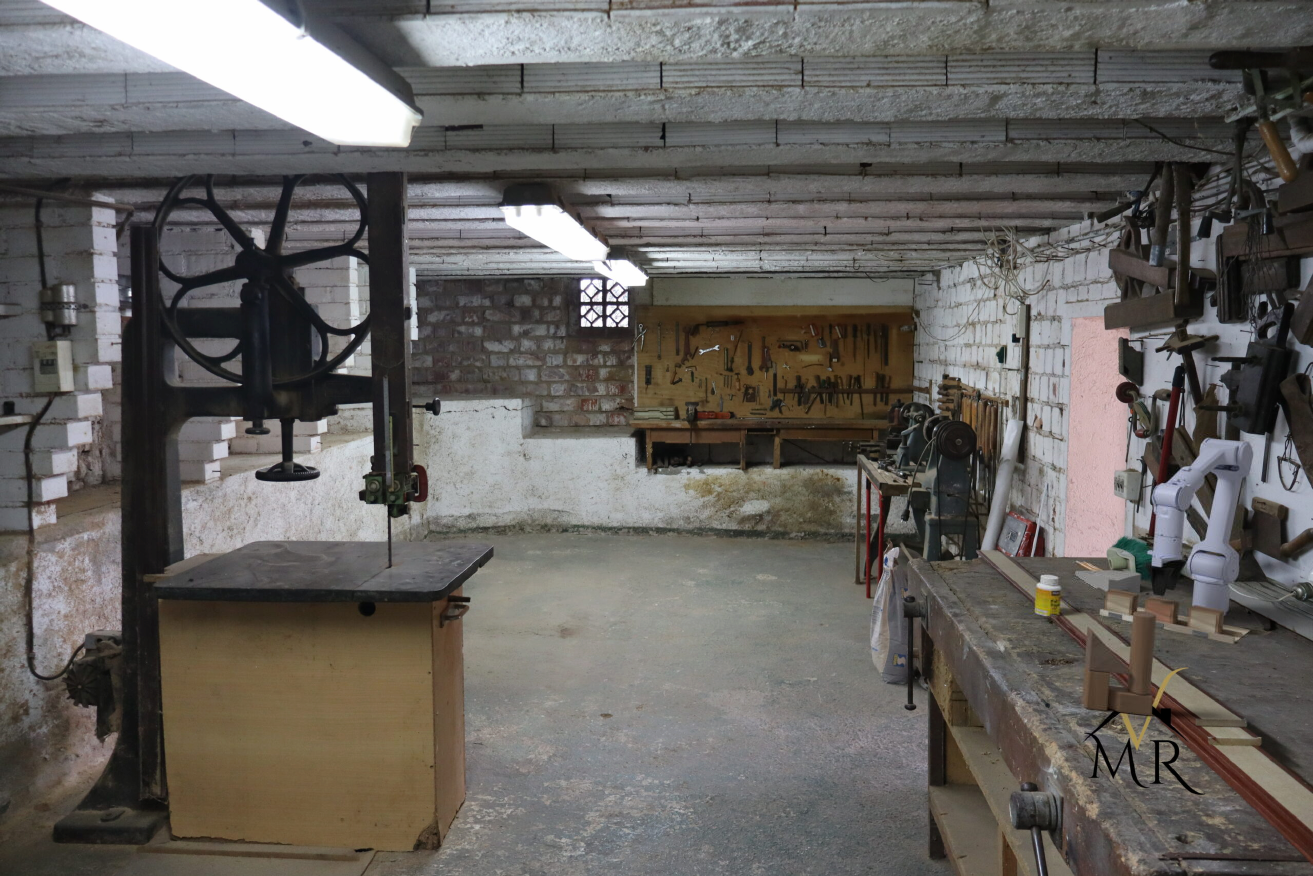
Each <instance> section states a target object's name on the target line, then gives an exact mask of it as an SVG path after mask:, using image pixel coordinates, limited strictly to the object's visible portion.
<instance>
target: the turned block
mask: <svg viewBox="0 0 1313 876" xmlns="http://www.w3.org/2000/svg"><path fill="white" fill-rule="evenodd" d="M1144 608H1145V612H1150V613H1153V614H1155V615H1156V621H1161V622H1165V623H1170V624H1175V625H1177V623H1178V615H1179V609H1180V601H1176V600H1172V599H1171V600H1170V599H1166V598H1160V597H1156V596H1150V597H1148V598H1145V604H1144Z"/></svg>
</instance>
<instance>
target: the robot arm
mask: <svg viewBox="0 0 1313 876" xmlns="http://www.w3.org/2000/svg"><path fill="white" fill-rule="evenodd" d="M1253 459H1254V451H1253V447H1252V445H1251V443H1249V441H1247V440H1246V441H1245V440H1243V441H1242V440H1241V441H1240V440H1229V439H1218V438H1212V437H1206V438H1205V439H1204V440H1203V441H1202V442H1201V444H1200V447H1199V455H1198V456H1197V457H1196V459H1195V460H1194V461H1193V463H1191V465H1189V466H1183V467H1181V468H1180V469H1179V470H1178V471H1177V472H1176V473H1175V474H1174V475H1173V476H1172V477H1170V479H1169V480H1168V481H1167V482H1165V483H1163V482H1161V483H1160V484H1157V485H1156V486H1155V487H1154V489H1153V491H1152V495H1151V502H1152V505H1153V513H1154V515H1155V521H1154V522H1155V523H1154V537H1153V548H1152V549H1153V550H1152V549H1150V550H1147V555H1151V556H1152V558H1151V562H1146V563H1145V568H1146V570H1147V573H1148V574H1149V578H1150V583H1151V588H1152V589H1151V590H1152V594H1153V595H1154V596H1160V597H1164V596H1165V594H1166V591H1167V590H1170V591H1175V589H1176V587H1177V584H1178V581H1179V577H1180V576H1181V573H1182V571H1183V569H1184V567H1185V566H1186V567H1187V568H1186V569H1187V571H1188V574H1189V575H1191V579H1192V580H1194V583H1193V593H1192V604H1191V607H1192V606H1194V605H1197V606H1202V607H1207V608H1212V609H1218V610H1223V611H1224V616H1226V615H1227V612H1228V611H1229V609H1230V608H1229V607H1230V606H1229V605H1230V596H1231V595H1230V594H1231V590H1230V584H1232V583H1234V581H1236V580H1237V578H1238V576H1239V573H1240V565H1239V562H1240V554H1239V553H1238V552H1237V551H1236V550H1235V549H1234V548H1233V547H1232V546H1231V545H1230V539H1231V534H1232V529H1233V524H1234V519H1235V515H1236V511H1237V510H1236V509H1237V505H1238V500H1239V494H1240V491H1241V485H1242V482H1243V479H1244V478H1246V477H1249V475H1250V472H1251V469H1252V464H1253ZM1210 472H1211V473H1212V474H1214V475H1215V476H1216V477H1217V482H1216V486H1215V491H1214V496H1213V501H1212V506H1211V511H1210V514H1209V519H1208V525H1207V529H1206V530H1207V531H1206V532H1205V533H1206V534H1205V539H1204V540H1202V541H1199V542H1197V543H1196V544H1194V545H1193V547H1192V549H1191V553H1190V554H1189V556H1188V557H1187V560H1185V559H1183V554H1182V549H1183V548H1182V547H1183V537H1184V526H1185V525H1184V523H1185V515H1186V514H1185V512H1186V510H1188V509H1189V508H1190V506H1191V503H1192V500H1193V498H1194V494H1195V493H1196V492H1197V491H1198V490H1199V489H1200V488H1201V487H1202V486H1203V485H1204V483H1205V476H1206V475H1208V473H1210ZM1212 553H1213V554H1212ZM1217 554H1218V555H1217Z"/></svg>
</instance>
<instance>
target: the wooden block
mask: <svg viewBox="0 0 1313 876" xmlns="http://www.w3.org/2000/svg"><path fill="white" fill-rule="evenodd" d="M1155 626H1156V615H1155V614H1153V613H1150V612H1145V611H1136V612H1134V613H1133V622H1132V625H1131V638H1130V649H1129V650H1130V652H1129V664H1128V667H1127V666H1126V665H1125V664H1124V663H1123V661H1121V659H1119V658H1118V656H1117V655H1116V654H1115V653H1114V652H1113V651H1112V650H1111V649H1110V648H1109V647H1108V646H1107V645H1106V644H1105V643H1104V641H1103V640H1102V639H1101V638H1100V637H1099V636H1098V635H1097V634H1096V633H1095V632H1094V631H1093V629H1091V628H1090V627H1089V626H1087V627H1086V628H1087V631H1086V641H1085V642H1086V643H1085V653H1084V655H1085V657H1084V670H1083V681H1082V682H1083V686H1082V697H1081V702H1082V704H1083V705H1084V707H1085V709H1087V710H1088V709H1089V710H1095V711H1096V710H1097V711H1105V712H1106V711H1107V710H1108V709H1110V710H1112V711H1116V712H1118V713H1124V714H1135V715H1141V716H1142V715H1143V716H1152V713H1153V701H1154V700H1153V699H1154V697H1153V695H1152V694H1151V685H1152V674H1153V673H1152V672H1153V661H1154V649H1155V635H1156V627H1155ZM1111 673H1114V674H1124V675H1128V676H1127V687H1124V686H1123V687H1122V686H1115V685H1114V686H1113V685H1110V677H1111V676H1110V675H1111Z"/></svg>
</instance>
